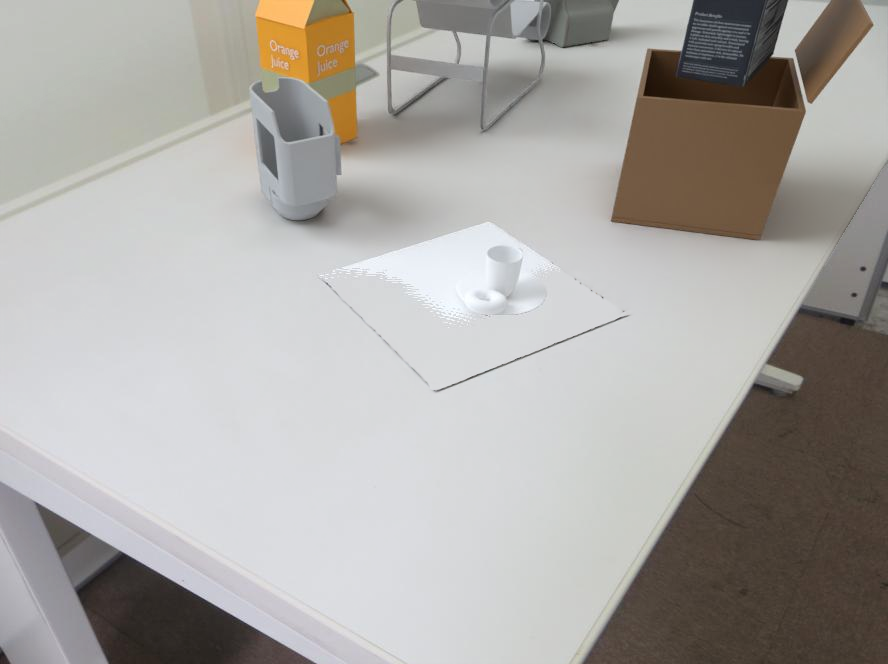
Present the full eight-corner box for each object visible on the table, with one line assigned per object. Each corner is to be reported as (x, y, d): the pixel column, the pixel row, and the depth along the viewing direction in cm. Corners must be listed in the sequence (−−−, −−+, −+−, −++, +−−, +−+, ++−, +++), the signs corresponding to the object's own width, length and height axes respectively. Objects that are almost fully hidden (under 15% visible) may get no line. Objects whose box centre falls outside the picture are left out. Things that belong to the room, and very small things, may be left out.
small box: (705, 46, 77) (736, -75, 70) (773, 56, 74) (813, -70, 67) (670, 77, 70) (701, -53, 63) (744, 88, 67) (784, -46, 60)
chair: (385, 120, 100) (384, -50, 87) (460, 64, 116) (469, -87, 103) (479, 137, 95) (494, -42, 82) (545, 75, 111) (565, -82, 98)
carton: (753, 176, 84) (793, 57, 76) (759, 240, 74) (806, 111, 66) (623, 162, 88) (647, 48, 80) (610, 221, 78) (637, 97, 69)
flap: (794, 50, 76) (798, 51, 76) (807, 102, 65) (811, 104, 65) (846, -22, 71) (850, -20, 71) (869, 22, 60) (874, 24, 60)
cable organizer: (289, 237, 77) (278, 120, 69) (252, 189, 86) (238, 80, 78) (349, 223, 79) (345, 107, 71) (307, 177, 88) (299, 69, 80)
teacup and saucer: (484, 332, 64) (488, 291, 61) (431, 289, 69) (433, 249, 66) (565, 302, 67) (572, 261, 64) (508, 262, 72) (513, 223, 69)
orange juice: (311, 120, 101) (300, -52, 88) (358, 136, 96) (353, -43, 83) (266, 137, 97) (247, -40, 84) (313, 156, 92) (300, -29, 79)
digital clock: (607, 26, 129) (620, -45, 122) (631, 41, 122) (645, -33, 115) (515, 34, 127) (523, -38, 120) (534, 50, 120) (543, -25, 113)
